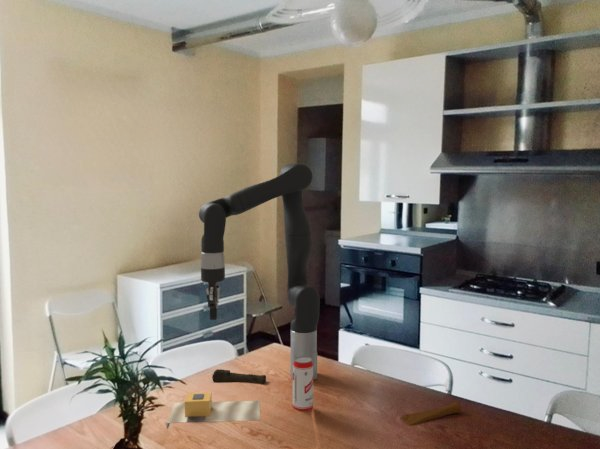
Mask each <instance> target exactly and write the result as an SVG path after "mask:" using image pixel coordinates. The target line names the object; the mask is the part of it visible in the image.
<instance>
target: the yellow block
mask: <svg viewBox="0 0 600 449" xmlns="http://www.w3.org/2000/svg"><path fill="white" fill-rule="evenodd" d="M212 398H213V396H212V392H189V393H188V392H187V395H186V398H185V400H184V403H185V417H191V416H210V412H211V408H212V402H213V399H212Z"/></svg>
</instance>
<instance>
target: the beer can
mask: <svg viewBox="0 0 600 449" xmlns="http://www.w3.org/2000/svg"><path fill="white" fill-rule="evenodd" d="M311 360H312V359H311V358H310V357H307V356H300V357H296V358H295V361H294V363H293V379H292V408H293V409H294V410H297V411H300V412H301V411H302V412H303V411H304V412H305V411H310V412H312V411H313V409H314V379H313V363H312V361H311Z"/></svg>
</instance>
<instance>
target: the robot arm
mask: <svg viewBox="0 0 600 449" xmlns="http://www.w3.org/2000/svg"><path fill="white" fill-rule="evenodd" d="M312 182H313V172H312V170H311V169H310V167H309V166H307V165H306V164H303V163H300V162H299V163H289V164H285V165H284V166H282V168H281V170H280V172H279V175H278V176H276V177H274V178H271V179H269V180H266V181H262V182H260V183H257V184H252V185H250V186H247V187H244V188H241V189H240V190H237V191H235V192H232V193H231V194H228V195H226V196H224V197H221V198H217V199H215V200H212V201H209V202H207V203H205V204H203V205H202V206H201V208H200V209H199V211H198V218H199V220H200V221H201V222H202V223H203V234H202V236H201V241H200V242H201V244H200V245H201V246H200V247H201V251H200V252H201V254H200V255H201V256H200V280H201V281H202V283H203V282H204V283H208V285H207V286H206V291H205V292H206V299H207V300H206V301H207V307H208V309H209V319H210V320H211V321H212V320H213V321H214V320H215V321H216V320H217V319H218V307H219V300H220V291H221V286H220V285H219V283H220V282H224V281H225V279H226V261H225V260H226V259H225V246H224V245H225V242H224V241H225V240H224V236H225V231H226V224H227V218H229V217H231V216H238V215H241V214H243V213H245V212H248V211H249V210H252V209H254V208H256V207H258V206H260V205H263V204H265V203H267V202H269V201H271V200H273V199H276V198H279V197H281V198H282V205H283V206H282V207H283V222H284V240H285V241H284V242H285V250H286V263H287V284H286V285H287V290H286V291H287V293H286V294H287V295H286V296H287V300H288V302H289V304H290V305H291V307H293V308H294V309H295V316H294V319H292V320H291V322H290V372H289V373H290V377H291V379H292V380H293V363H294V361H295V358H296V357H300V356H307V357H310V358H311V359H312V360H311V361H312V363H313V380H318V350H317V347H318V346H317V345H318V344H317V342H318V339H317V338H318V337H317V336H318V334H317V333H318V331H317V330H318V324H319V320H320V307H321V305H320V304H321V300H320V299H321V298H320V293H319V291H318V289H317V288H315V287H313V286H312V285H309V281H308V280H309V279H308V273H307V271H308V269H307V268H308V263H309V259H310V256H311V253H312V249H313V240H312V237H313V236H312V227H311V223H310V220H309V217H308V215H307V213H306V210H305V208H304V202H303V190H305V189H307V188H309V186H310V185H311V183H312Z"/></svg>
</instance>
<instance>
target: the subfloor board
mask: <svg viewBox="0 0 600 449" xmlns="http://www.w3.org/2000/svg"><path fill="white" fill-rule="evenodd" d="M260 409H261V400H242V401H241V400H239V401H238V400H236V401H234V400H233V401H212V408H211V412H210V416H191V417H185V402H174V405H173V406H172V409H171V411H170V414H169V416H168V419H167V421H166V429H168V428H169V427H170V424H174V423H175V424H178V423H179V424H180V423H181V424H182V423H183V424H184V423H185V424H186V423H211V422H212V423H217V422H248V421H249V422H250V421H252V422H253V421H260V415H261V414H260V411H261V410H260Z"/></svg>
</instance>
